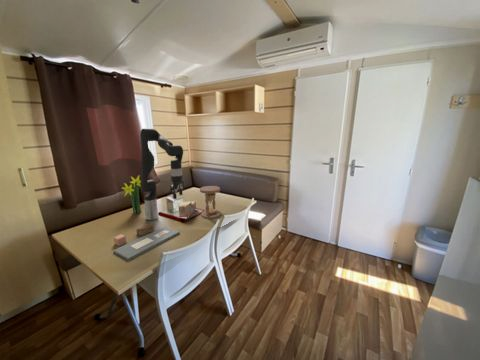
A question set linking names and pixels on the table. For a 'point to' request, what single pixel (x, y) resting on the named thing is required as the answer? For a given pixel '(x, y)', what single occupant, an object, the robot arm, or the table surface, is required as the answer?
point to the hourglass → (210, 196)
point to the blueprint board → (145, 243)
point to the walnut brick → (144, 229)
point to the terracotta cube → (120, 240)
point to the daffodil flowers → (134, 192)
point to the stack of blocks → (186, 208)
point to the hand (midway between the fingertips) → (178, 196)
